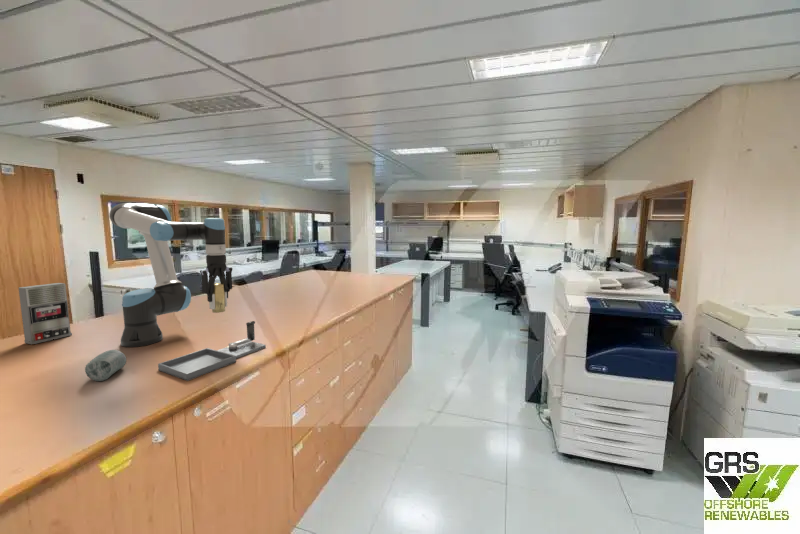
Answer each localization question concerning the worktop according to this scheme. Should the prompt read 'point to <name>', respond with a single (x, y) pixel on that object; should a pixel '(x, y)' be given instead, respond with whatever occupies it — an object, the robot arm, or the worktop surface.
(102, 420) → the worktop surface
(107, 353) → the spool
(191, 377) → the tray
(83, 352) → the worktop surface
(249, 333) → the crank lever
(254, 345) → the crank plate
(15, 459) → the worktop surface
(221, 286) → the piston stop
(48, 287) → the cassette tape recorder
